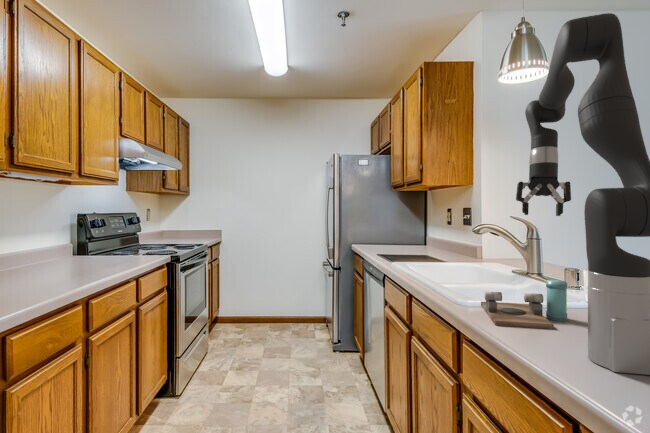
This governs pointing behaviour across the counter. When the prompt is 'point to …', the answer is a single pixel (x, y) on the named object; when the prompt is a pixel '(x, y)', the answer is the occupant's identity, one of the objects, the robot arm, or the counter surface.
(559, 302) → the cylinder
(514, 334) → the counter surface
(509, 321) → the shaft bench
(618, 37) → the robot arm
